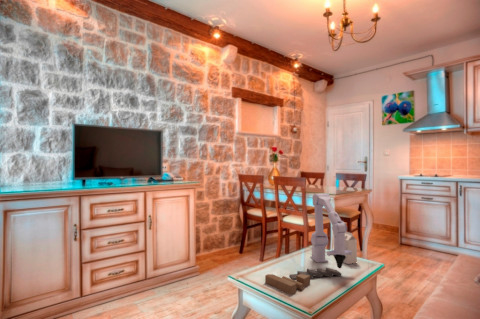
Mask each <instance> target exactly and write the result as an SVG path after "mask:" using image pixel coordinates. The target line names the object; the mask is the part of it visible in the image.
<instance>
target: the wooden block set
mask: <svg viewBox="0 0 480 319" xmlns="http://www.w3.org/2000/svg"><path fill="white" fill-rule="evenodd" d="M264 279H265V280H264V281H265V282H264V283H265V284H268V285H269V286H272V287H274V288H276V289H277V290H279V291H282V292H284V293H286V294H288V295H290V296H291V295H292V296H293V294H295V293H297V290H300V291H303V290H304V288H306V287H308V286H309V285H311V279H310V276H309V275H303V274H299V275H297V276H296V280H292V279H291V277H290V278H289V277H287V276H282V277H281V276H278V275H275V274H273V273H271V274H270V273H268V274H266V275H265V278H264Z"/></svg>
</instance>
